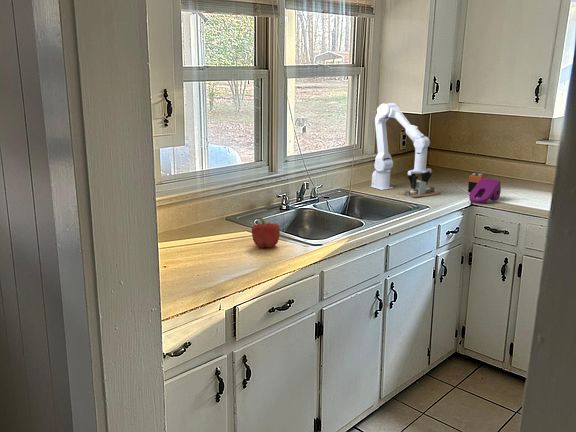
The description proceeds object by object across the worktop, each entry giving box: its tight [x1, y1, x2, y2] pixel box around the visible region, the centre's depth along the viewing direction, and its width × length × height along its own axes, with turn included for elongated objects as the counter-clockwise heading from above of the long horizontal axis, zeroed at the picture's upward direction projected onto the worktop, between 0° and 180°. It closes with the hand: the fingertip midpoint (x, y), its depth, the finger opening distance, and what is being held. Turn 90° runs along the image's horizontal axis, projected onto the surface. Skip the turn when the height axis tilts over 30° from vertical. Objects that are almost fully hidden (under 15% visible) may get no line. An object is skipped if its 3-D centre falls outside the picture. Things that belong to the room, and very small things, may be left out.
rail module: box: [410, 179, 427, 195], centre depth 295 cm, size 6×4×6 cm, turn 33°
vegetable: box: [251, 216, 280, 249], centre depth 212 cm, size 11×10×10 cm
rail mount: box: [398, 186, 441, 199], centre depth 296 cm, size 11×18×3 cm, turn 123°
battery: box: [467, 172, 486, 193], centre depth 300 cm, size 4×7×10 cm, turn 49°
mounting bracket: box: [468, 177, 502, 205], centre depth 286 cm, size 9×8×18 cm
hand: (418, 187), depth 295 cm, fingers open, 7 cm apart
